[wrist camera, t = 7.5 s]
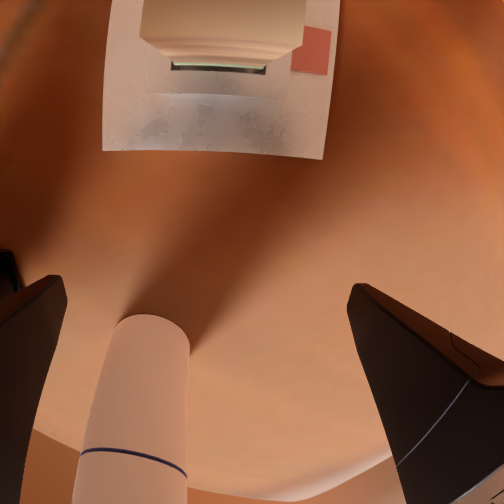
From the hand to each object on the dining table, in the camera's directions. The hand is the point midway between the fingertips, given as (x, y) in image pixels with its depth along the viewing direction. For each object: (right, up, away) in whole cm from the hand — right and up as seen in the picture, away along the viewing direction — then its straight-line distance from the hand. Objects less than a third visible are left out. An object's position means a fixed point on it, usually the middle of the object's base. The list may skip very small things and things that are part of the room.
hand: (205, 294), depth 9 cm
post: (0, +12, +3) cm, 12 cm away
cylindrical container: (-8, -7, +18) cm, 21 cm away
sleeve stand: (-1, +14, +7) cm, 16 cm away
